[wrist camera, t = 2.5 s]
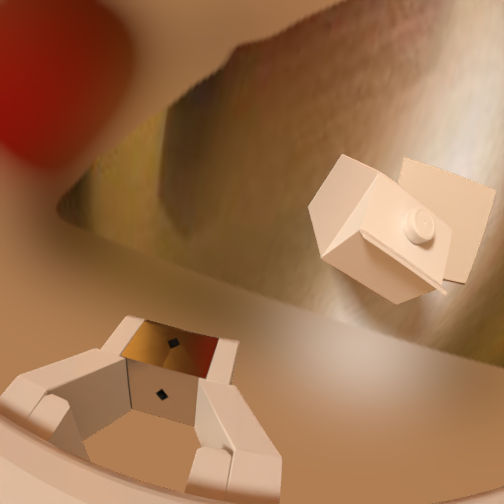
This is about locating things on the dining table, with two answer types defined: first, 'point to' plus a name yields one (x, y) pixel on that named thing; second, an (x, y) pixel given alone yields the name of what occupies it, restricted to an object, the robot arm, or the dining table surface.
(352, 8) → the dining table surface
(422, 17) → the dining table surface
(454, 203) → the mat
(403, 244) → the milk carton
